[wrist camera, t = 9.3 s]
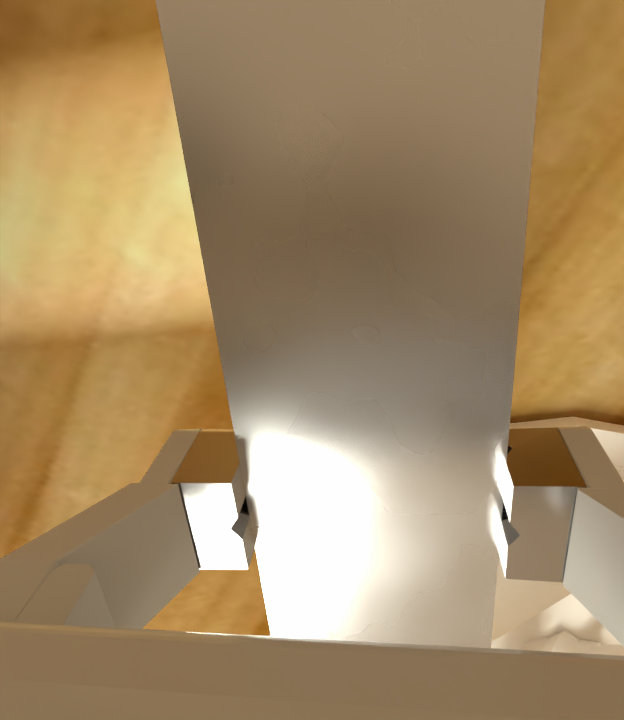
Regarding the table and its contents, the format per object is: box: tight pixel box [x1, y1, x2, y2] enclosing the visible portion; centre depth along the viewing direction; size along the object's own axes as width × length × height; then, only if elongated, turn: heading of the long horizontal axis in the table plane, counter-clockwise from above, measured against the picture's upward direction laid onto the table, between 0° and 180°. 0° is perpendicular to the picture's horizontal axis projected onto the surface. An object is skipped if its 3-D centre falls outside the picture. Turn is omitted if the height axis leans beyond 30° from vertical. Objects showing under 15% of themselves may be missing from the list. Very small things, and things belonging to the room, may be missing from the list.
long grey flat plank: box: [156, 0, 545, 648], centre depth 10 cm, size 22×4×4 cm, turn 5°
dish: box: [491, 417, 624, 656], centre depth 33 cm, size 25×25×11 cm
